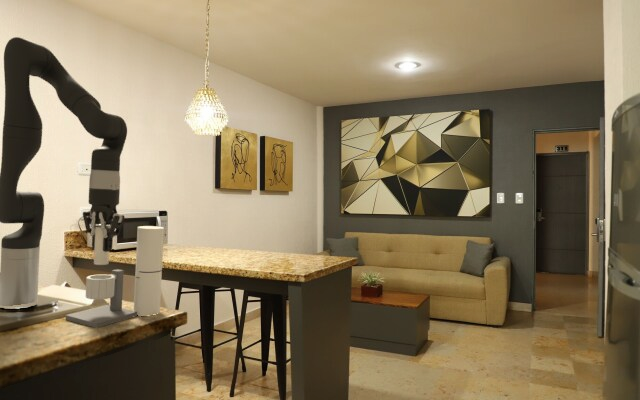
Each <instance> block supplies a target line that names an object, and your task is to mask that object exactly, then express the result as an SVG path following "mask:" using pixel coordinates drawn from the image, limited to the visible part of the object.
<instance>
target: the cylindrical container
mask: <svg viewBox="0 0 640 400" xmlns="http://www.w3.org/2000/svg"><path fill="white" fill-rule="evenodd" d="M164 232H165V228H164V226H163V227H162V226H156V225H155V226H154V225H143V226H142V225H141V226H140V225H139V226H137V236H136V253H135V256H136V257H135V278H134V294H133V295H134V298H133V311H136V312H137V315H138V316H137V317H141V316H147V315H153V314H157V313H159V312H161V296H162V295H161V293H162V291H161V290H162V276H163V275H162V274H163V272H162V271H163V255H164V254H163V253H164V234H165V233H164ZM159 314H160V313H159Z"/></svg>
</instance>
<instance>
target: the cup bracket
mask: <svg viewBox="0 0 640 400" xmlns="http://www.w3.org/2000/svg"><path fill="white" fill-rule="evenodd" d="M124 272H125V271H124V270H123V269H117V268H116V269H113V270H111V274H93V275H88V276H86V279H85V281H86V282H85V299H88V300H107V299H110V301H109V304H105V305H99V306H96V307H93V308H89V309H85V310H80V311H75V312H73V313H69V314H65V320H66V321H70V322H73V323H76V324H81V325H84V326H88V327H91V328H95V329H98V328H101V327H102V328H103V327H105V326H108V325H112V324H114V323H117V322H118V323H119V322H121V321H120V320H122V321H125V320H127V318H128V319H131V318H130V317H132V318H134V317H133V316H135V317H138V316H137V312H136V311H134V310H131V309H126V308H123V291H124V290H123V289H124V274H125V273H124ZM124 319H125V320H124Z"/></svg>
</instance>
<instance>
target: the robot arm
mask: <svg viewBox="0 0 640 400" xmlns="http://www.w3.org/2000/svg"><path fill="white" fill-rule="evenodd" d="M3 75H4V115H3V124H2V125H3V126H2V136H1V137H2V141H1V142H2V144H1V147H2V148H1V162H0V163H1V164H0V223H1V224H7V225H8V224H22V226H21V227H20V228H19V229H17V230H15V232H12V233H10V234H6V235H4V236H3V237H2V238H1V244H0V245H1V246H0V247H1V248H0V305H2V306H13V305H21V304H28V303H33V302H36V301H37V302H38V295H39V294H38V292H39V274H40V273H39V271H40V252H41V251H40V245H41V239H42V235H43V223H44V215H45V201H44V198H43V195H42V194H41V193H40V192H38V191H35V190H31V191H30V190H18V188H17V187H18V185H19V181H20V177H21V175H22V173H23V172H24V170H25V169H26V167H27V166H28V165H29V164H30V163H31V162H32V160H33V159H34V158H35V156H36V155H37V154H38V153H39V151H40V149H41V146H42V139H43V121H42V117H41V115H40V113H39V111H38V108H37V107H36V105H35V102H34V100H33V97H32V94H31V88H30V79H31V78H30V77H37V78H39V79H41V80H43V81H45V82H46V83H48V84H49V85H51V86H52V88H53V89H54V90H55V92H56V95H57V98H58V100H59V101H60V102H61V103H62V105H63V106H64V107H65V108H67V109H68V111H70V113H72V114H73V115H74V116H75V117H76V118H77V119H78V121H79V122H80V124H81V125H82V127H83V128H84V130H85V131H86V132H87V133H88V134H90V135H91V136H92V137H95V138H97V139H100V140H103V141H102V143H101V145H100V147H99V148H94V149H93V150H92V152H91V157H90V158H91V160H90V164H91V165H90V175H89V179H88V181H89V182H88V185H89V186H88V204H89V205H90V206H91V207H90V210H89V211H83V212H82V217H83V223H84V226H85V230H86V233H87V234H90V235H91V248H92V250H94V248H95V227H101V228H102V229H103V233H104V237H105V238H103V251H105V252H108V251H109V252H111V251H112V249H113V239H114V237H117V236H119V235H120V232H121V231H122V227H123V224H124V220H125V215H123V214H119V213H118V210H117V206H119V204H120V195H121V194H120V192H121V191H120V190H121V173H120V172H121V171H120V169H121V155H122V152H123V150H124V147H125V144H126V141H127V135H128V126H127V123H126V121H125V120H124V119H123V118H122V117H121V116H119V115H117V114H112V113H107V112H104V111H103V110H102V106H101V103H100V102H99V101H98V99H96V98H95V97H94V95H92V94H91V93H90V92H88V90H86V88H85V87H83V86H82V85H81V84H80V83H78V81H76V79H75V78H74V77H73V76H72V75H71V74H70V73H69V72H68V70H67V69H66V68H65V67H64V66H63V65H62V63H61V61H59V59H58V58H57V56H55V55H54V53H53V52H52V51H51V50H50V49H49V48H48V47H46V46H45V45H43V44H41V43H38V42H34V41H33V40H29V39H27V38H23V37H20V36H15V37H12V38H10V39H9V40H8V41H7V43H6V45H5V47H4V51H3ZM108 229H109V233H108Z"/></svg>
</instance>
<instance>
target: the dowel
mask: <svg viewBox="0 0 640 400" xmlns="http://www.w3.org/2000/svg"><path fill="white" fill-rule="evenodd" d="M108 233H109V229H108ZM103 238H105V237H104V233H103V229H102V228H101V227H95V248H94V252H93V253H94V255H93V265H97V266H104V265H105V266H106V265H109V257H110V251H108V252H105V251H103Z"/></svg>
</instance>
